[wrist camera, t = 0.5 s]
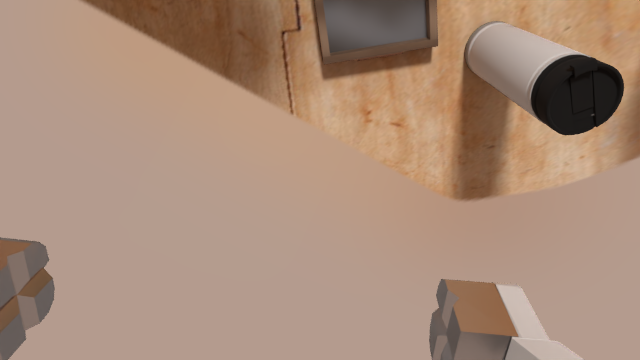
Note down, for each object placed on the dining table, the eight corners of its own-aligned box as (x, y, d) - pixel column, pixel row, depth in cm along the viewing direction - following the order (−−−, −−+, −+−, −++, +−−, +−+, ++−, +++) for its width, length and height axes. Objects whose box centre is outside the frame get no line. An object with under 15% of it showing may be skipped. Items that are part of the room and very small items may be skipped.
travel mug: (513, 9, 53) (627, 46, 35) (521, 65, 56) (631, 125, 38) (458, 29, 53) (543, 76, 35) (469, 83, 56) (554, 151, 38)
